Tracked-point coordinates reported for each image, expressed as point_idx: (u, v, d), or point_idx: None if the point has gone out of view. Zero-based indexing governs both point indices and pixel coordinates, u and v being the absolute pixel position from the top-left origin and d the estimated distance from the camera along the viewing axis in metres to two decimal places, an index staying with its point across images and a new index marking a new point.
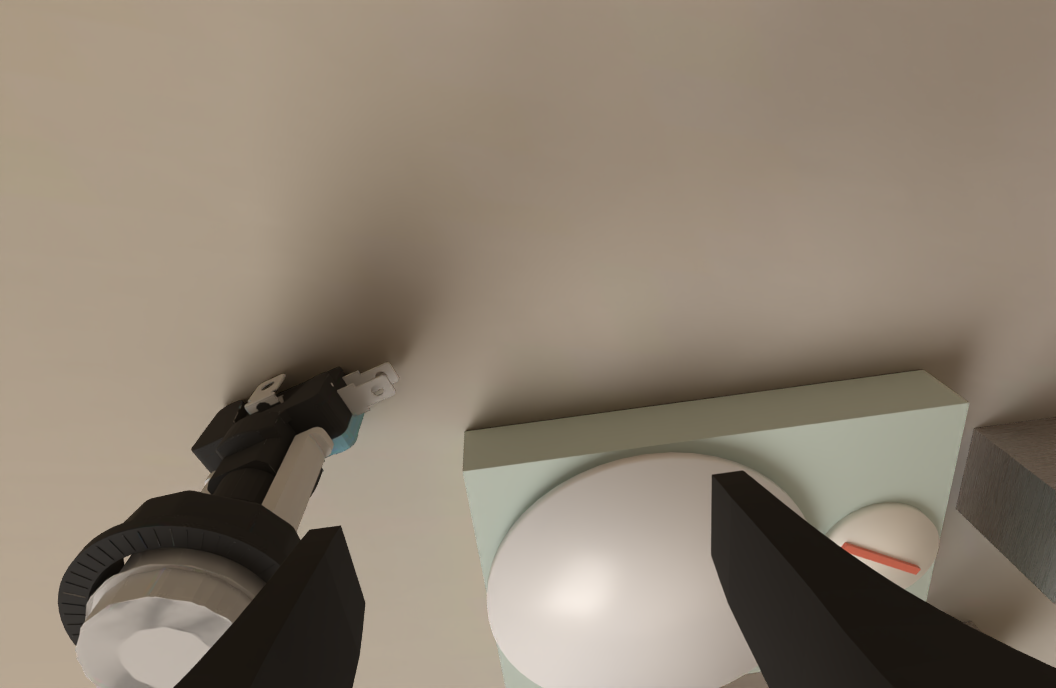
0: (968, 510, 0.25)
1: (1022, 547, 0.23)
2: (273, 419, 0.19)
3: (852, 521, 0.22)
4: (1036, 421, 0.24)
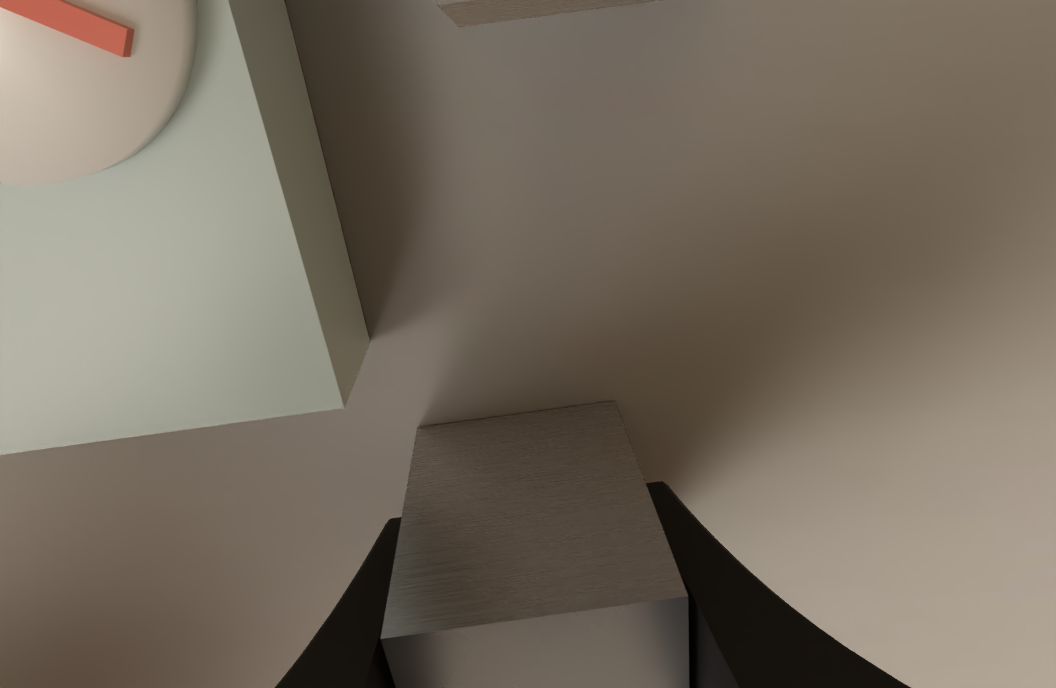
0: None
1: None
2: None
3: None
4: None
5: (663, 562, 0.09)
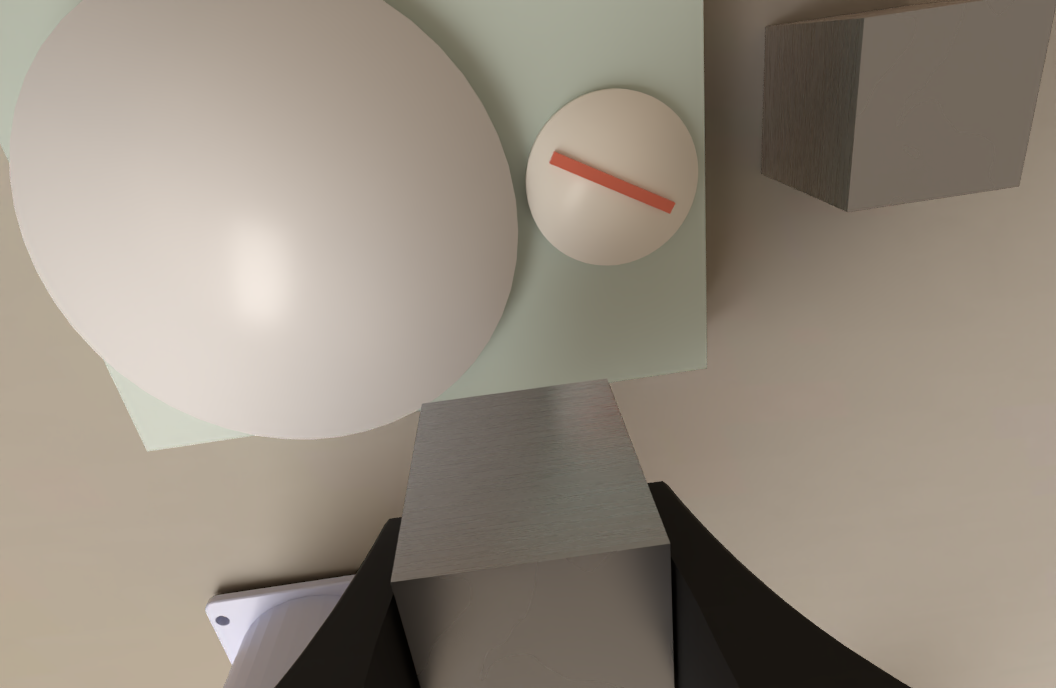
0: (770, 162, 0.18)
1: (815, 157, 0.15)
2: None
3: (557, 112, 0.15)
4: (853, 13, 0.17)
5: (648, 515, 0.09)
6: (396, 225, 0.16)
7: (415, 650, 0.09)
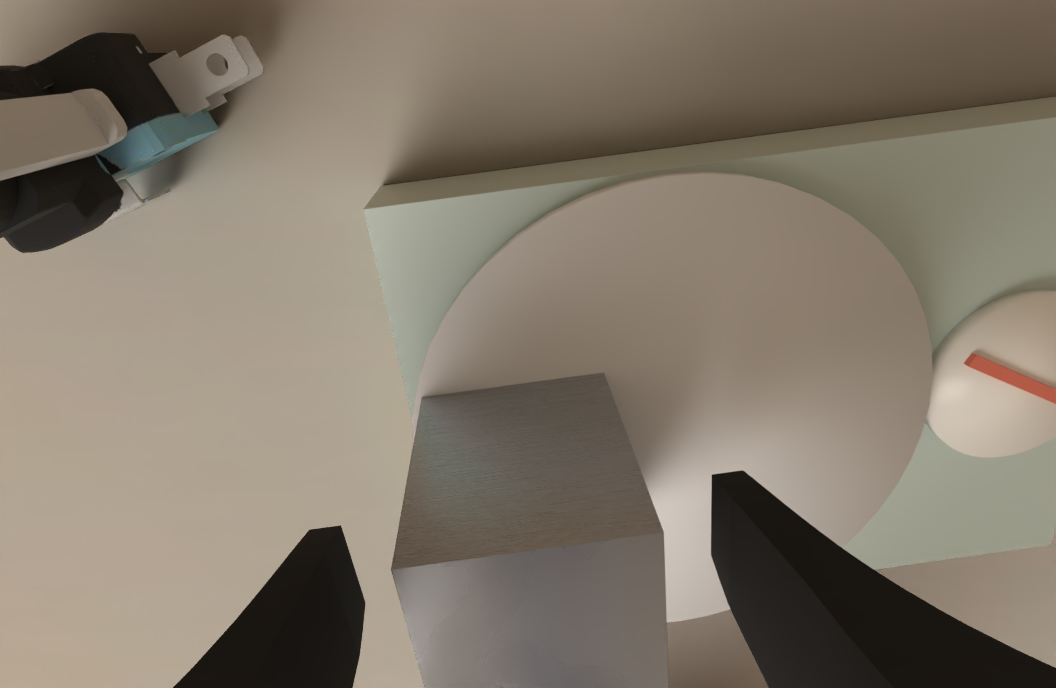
0: None
1: None
2: (11, 69, 0.11)
3: (986, 316, 0.14)
4: None
5: (643, 506, 0.10)
6: (800, 428, 0.15)
7: (415, 636, 0.10)
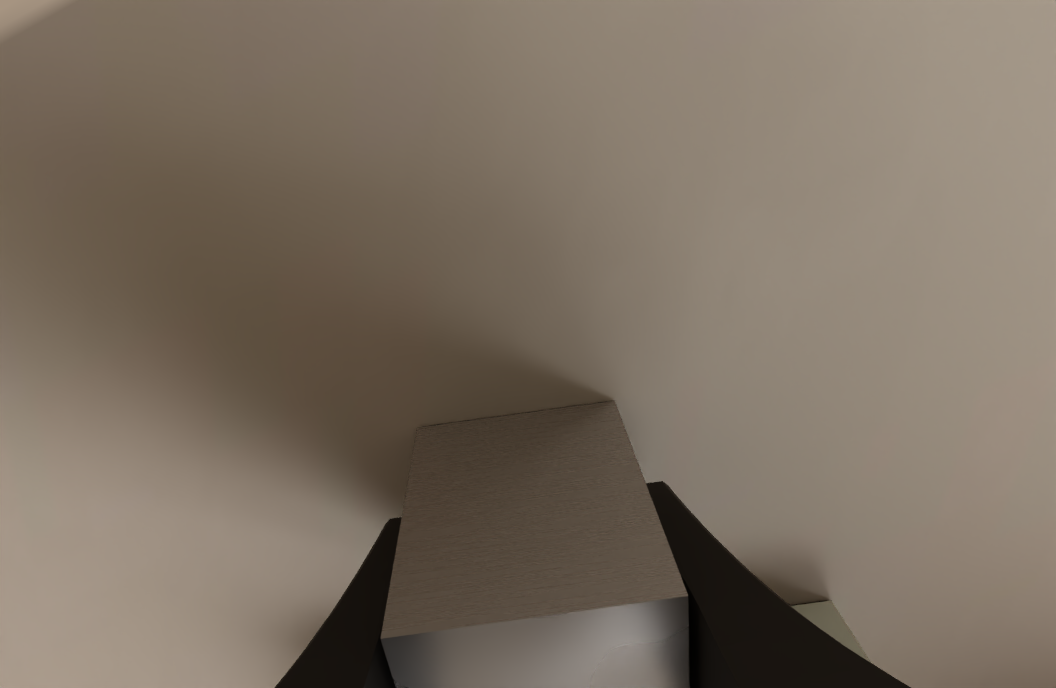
0: None
1: None
2: None
3: None
4: None
5: None
6: None
7: None
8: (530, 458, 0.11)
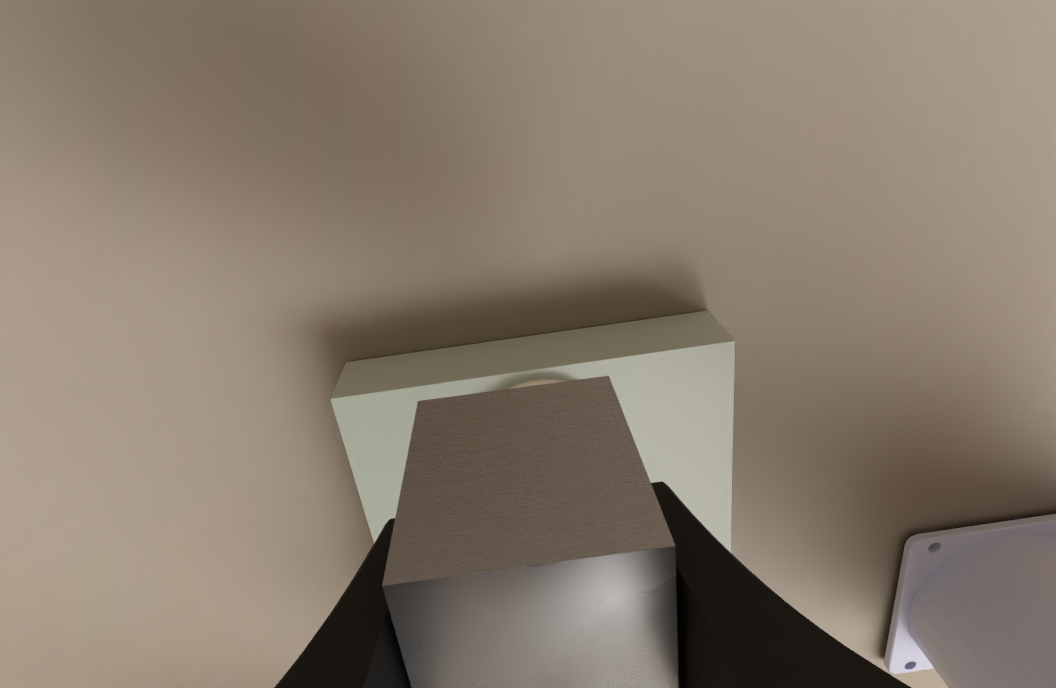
0: None
1: None
2: None
3: None
4: None
5: None
6: None
7: None
8: (526, 428, 0.12)
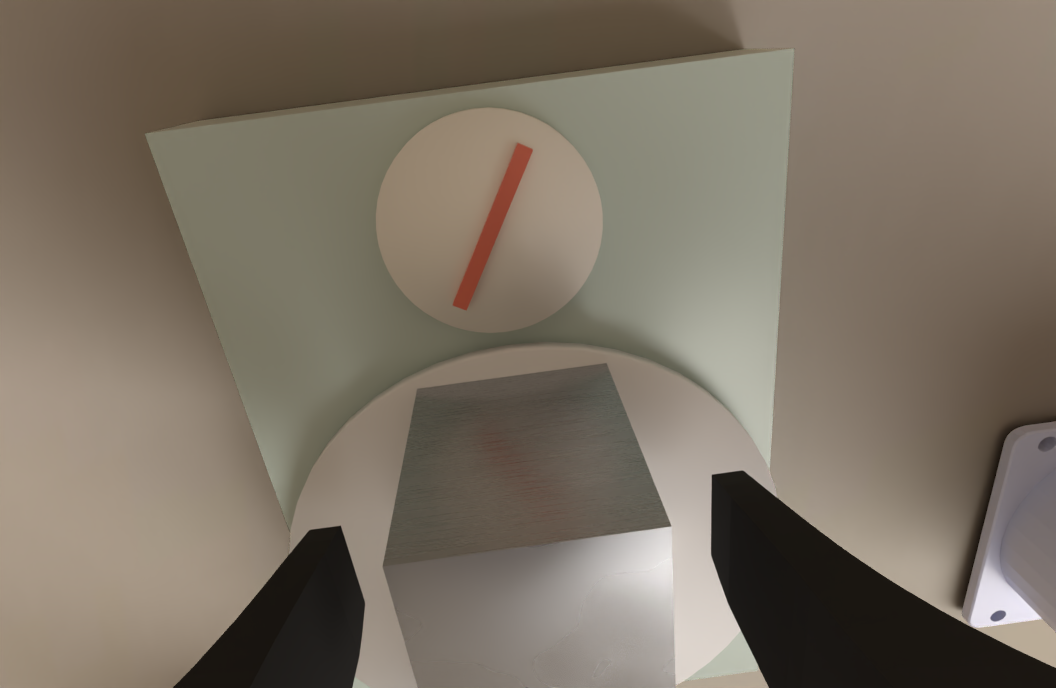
0: None
1: None
2: None
3: (408, 298, 0.13)
4: None
5: None
6: None
7: None
8: (524, 414, 0.12)
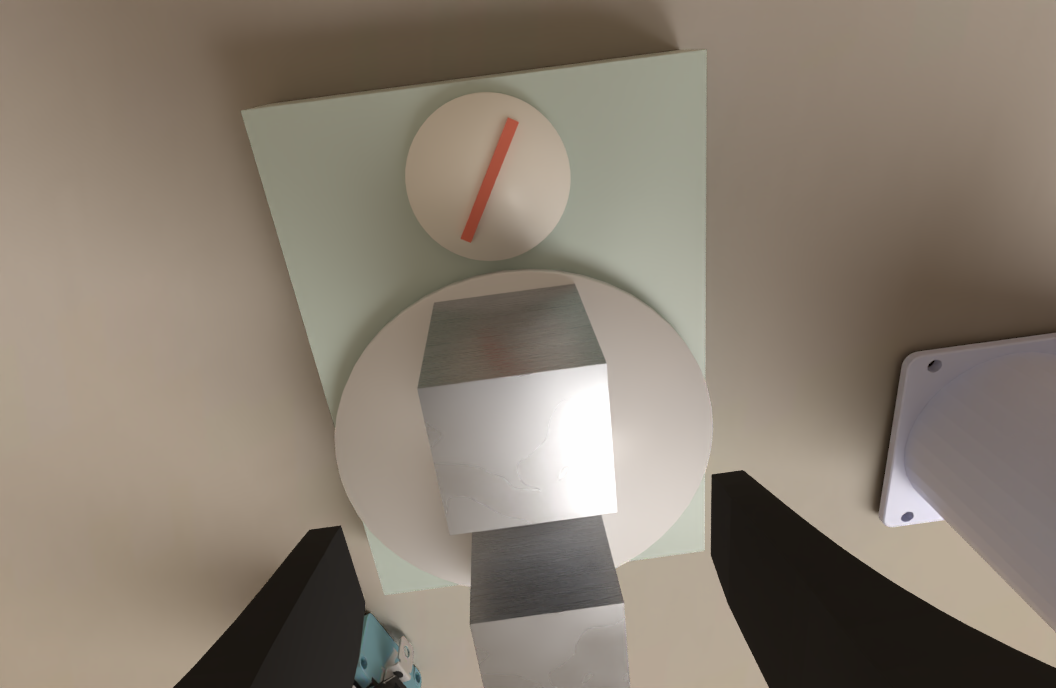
0: None
1: None
2: None
3: (428, 233, 0.17)
4: None
5: None
6: None
7: None
8: (512, 313, 0.16)
